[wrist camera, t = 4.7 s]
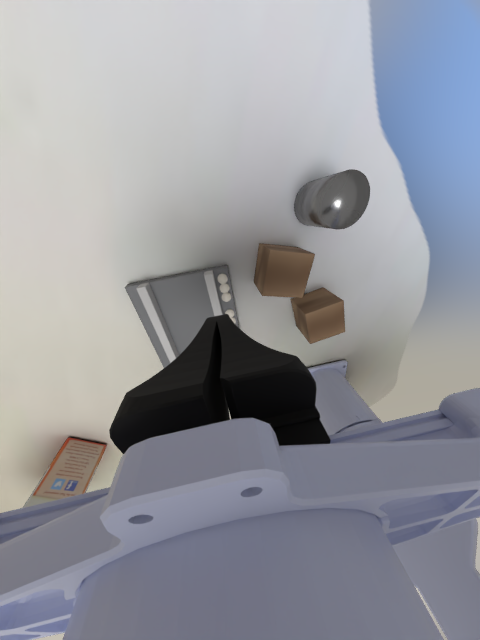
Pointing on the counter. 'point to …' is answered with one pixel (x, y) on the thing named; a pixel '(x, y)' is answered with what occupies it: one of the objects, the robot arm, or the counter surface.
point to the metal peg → (333, 200)
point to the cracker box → (68, 472)
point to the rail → (181, 307)
